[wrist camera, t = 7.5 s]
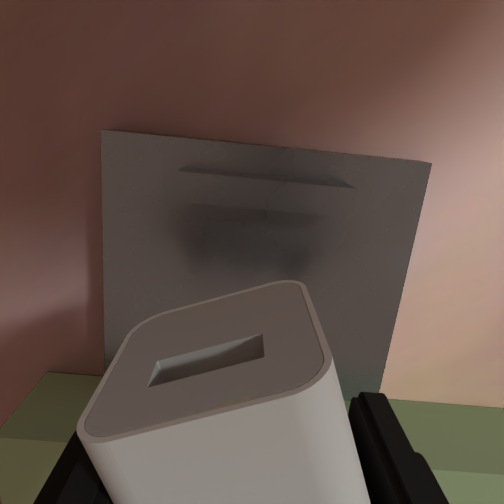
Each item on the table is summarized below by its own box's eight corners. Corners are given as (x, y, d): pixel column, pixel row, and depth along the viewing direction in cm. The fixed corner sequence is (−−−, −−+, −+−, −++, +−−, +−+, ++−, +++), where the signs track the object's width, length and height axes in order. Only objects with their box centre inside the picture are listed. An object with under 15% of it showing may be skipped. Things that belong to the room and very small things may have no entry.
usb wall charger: (301, 274, 9) (342, 382, 5) (361, 497, 11) (422, 693, 7) (135, 319, 9) (58, 454, 5) (224, 528, 11) (212, 734, 7)
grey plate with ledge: (110, 129, 15) (83, 129, 13) (420, 161, 15) (452, 167, 13) (112, 367, 18) (91, 404, 16) (370, 388, 19) (387, 427, 16)
